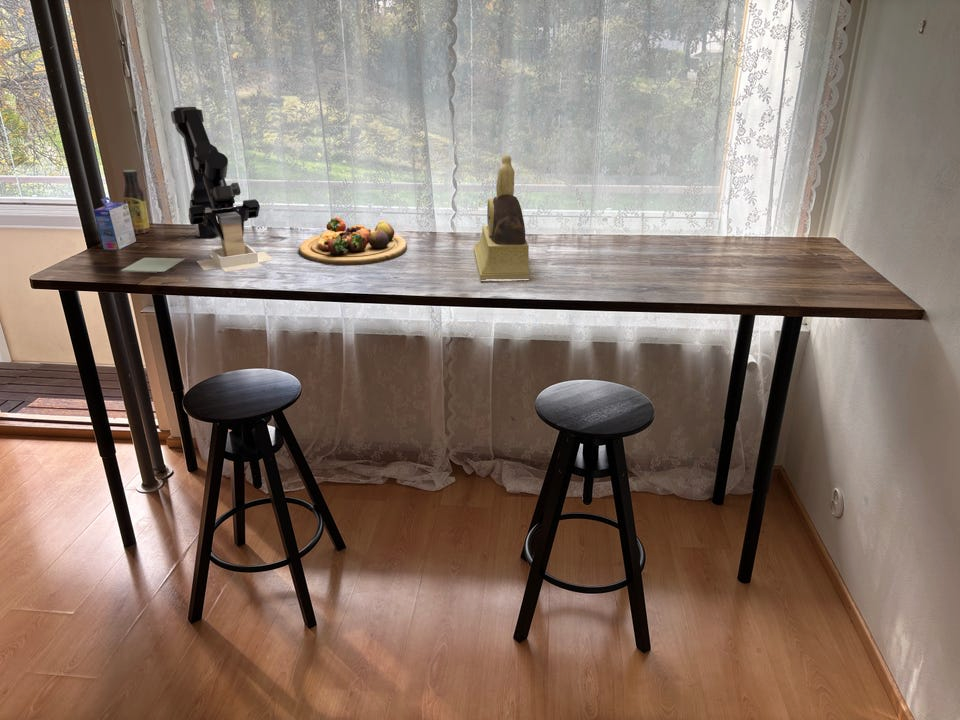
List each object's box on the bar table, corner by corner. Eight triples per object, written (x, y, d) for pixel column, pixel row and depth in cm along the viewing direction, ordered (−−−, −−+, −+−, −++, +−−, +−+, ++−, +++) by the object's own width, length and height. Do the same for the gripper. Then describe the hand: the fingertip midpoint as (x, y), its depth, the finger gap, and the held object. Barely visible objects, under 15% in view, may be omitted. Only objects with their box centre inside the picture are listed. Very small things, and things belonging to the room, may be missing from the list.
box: (223, 257, 200) (216, 213, 195) (241, 254, 203) (235, 211, 198) (227, 262, 196) (221, 217, 191) (246, 259, 199) (240, 215, 194)
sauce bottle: (125, 234, 227) (112, 171, 219) (137, 229, 233) (124, 168, 225) (144, 235, 226) (131, 172, 218) (155, 230, 232) (143, 169, 224)
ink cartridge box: (120, 241, 220) (110, 194, 214) (137, 241, 219) (127, 194, 213) (101, 249, 211) (90, 201, 205) (119, 250, 210) (108, 201, 204)
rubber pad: (144, 258, 202) (144, 257, 202) (184, 260, 201) (184, 258, 201) (121, 271, 191) (121, 270, 191) (163, 272, 190) (163, 271, 190)
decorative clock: (473, 252, 209) (473, 148, 196) (516, 252, 210) (519, 147, 197) (480, 282, 183) (480, 164, 171) (529, 281, 184) (533, 164, 172)
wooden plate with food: (295, 241, 221) (292, 215, 217) (395, 232, 230) (394, 207, 226) (304, 273, 193) (301, 243, 190) (417, 261, 202) (416, 233, 199)
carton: (193, 258, 203) (191, 248, 202) (259, 248, 212) (258, 239, 211) (207, 275, 188) (206, 264, 187) (278, 264, 197) (277, 254, 196)
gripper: (183, 176, 189) (198, 225, 185) (253, 170, 197) (269, 217, 194) (182, 200, 198) (197, 247, 194) (249, 193, 207) (265, 238, 203)
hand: (232, 237), depth 196 cm, fingers closed on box, 5 cm apart
